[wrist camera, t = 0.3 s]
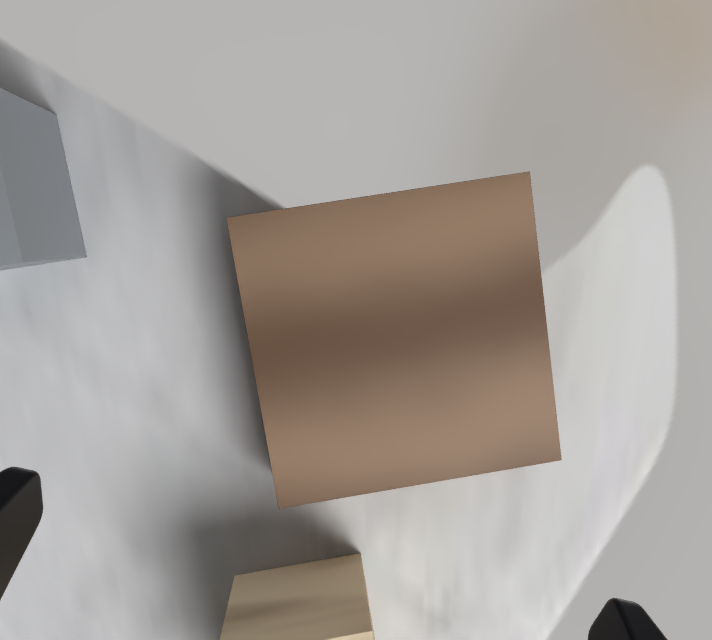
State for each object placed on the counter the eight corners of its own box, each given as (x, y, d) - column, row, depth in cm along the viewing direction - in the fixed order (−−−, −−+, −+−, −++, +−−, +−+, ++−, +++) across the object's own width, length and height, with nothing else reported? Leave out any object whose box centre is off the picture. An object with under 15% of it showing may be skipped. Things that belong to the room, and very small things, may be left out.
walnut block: (532, 433, 25) (561, 459, 22) (283, 475, 24) (278, 508, 21) (502, 179, 23) (529, 171, 20) (238, 220, 23) (226, 217, 20)
